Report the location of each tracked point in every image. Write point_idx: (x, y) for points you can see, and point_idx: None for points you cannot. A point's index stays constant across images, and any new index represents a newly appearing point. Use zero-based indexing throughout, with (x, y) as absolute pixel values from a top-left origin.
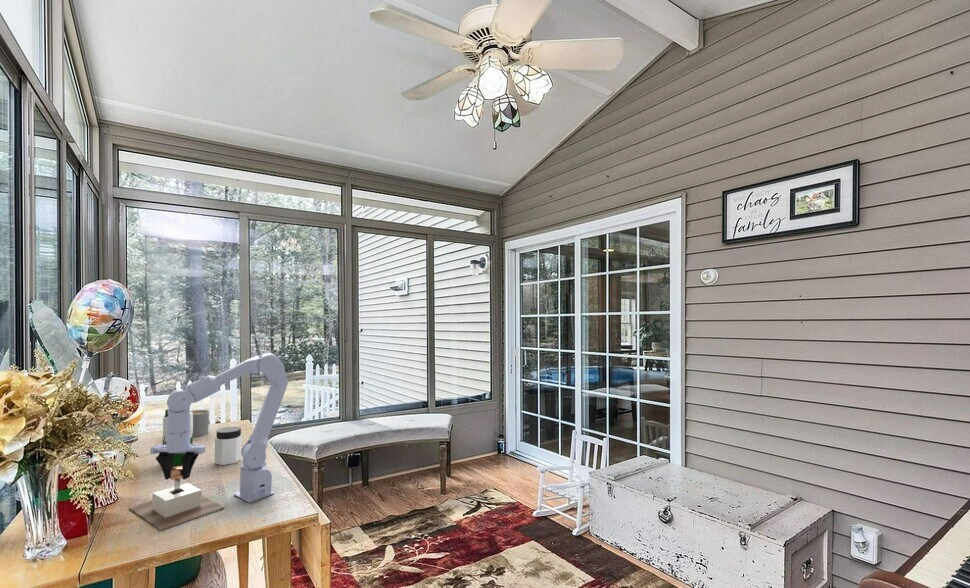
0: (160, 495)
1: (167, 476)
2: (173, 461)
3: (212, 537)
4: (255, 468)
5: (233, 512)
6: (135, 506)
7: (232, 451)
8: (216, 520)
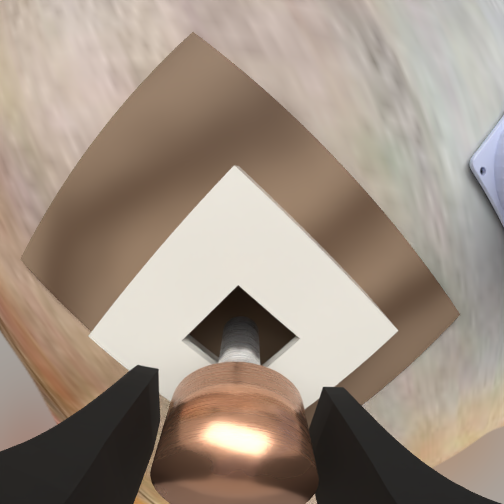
0: (165, 386)
1: (154, 440)
2: (91, 472)
3: (430, 465)
4: None
5: (483, 342)
6: (36, 253)
7: None
8: (438, 397)
